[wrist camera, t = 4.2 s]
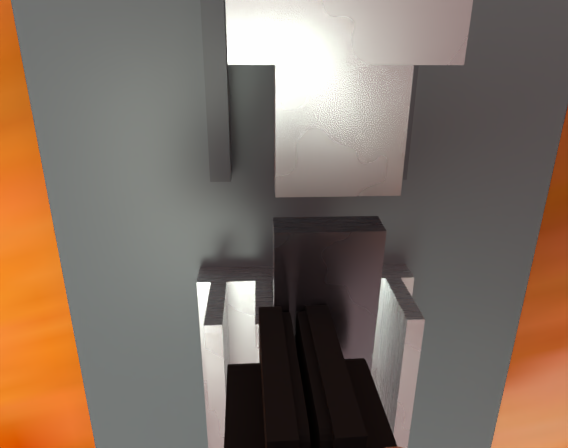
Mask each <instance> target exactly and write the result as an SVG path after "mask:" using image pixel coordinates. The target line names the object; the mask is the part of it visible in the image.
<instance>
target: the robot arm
mask: <svg viewBox="0 0 568 448" xmlns="http://www.w3.org/2000/svg"><path fill="white" fill-rule="evenodd" d="M224 448H403V447H398V446H397V444H396V441H395V438H394V435H393V433H392V430H391V427H390V424H389V422H388V419H387V416H386V413H385V411H384V408H383V405H382V402H381V400H380V397H379V394H378V391H377V389H376V386H375V383H374V380H373V378H372V375H371V372H370V369H369V367H368V364H367V362H366V360H365V359H364V358H354V359H344V356H343V353H342V350H341V346H340V343H339V340H338V336H337V333H336V330H335V326H334V323H333V320H332V316H331V313H330V310H329V307H328V305H305V311H303V312H296V337H295V338H294V332H293V326H292V320H291V314H290V312H282V309H281V306H274V307H259V363H245V364H228V366H227V385H226V409H225V433H224Z"/></svg>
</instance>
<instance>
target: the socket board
mask: <svg viewBox="0 0 568 448" xmlns="http://www.w3.org/2000/svg"><path fill="white" fill-rule="evenodd" d="M11 4H12V9H13V14H14V19H15V25H16V30H17V35H18V40H19V46H20V51H21V56H22V62H23V67H24V72H25V77H26V83H27V88H28V93H29V98H30V104H31V109H32V114H33V120H34V125H35V130H36V135H37V141H38V146H39V151H40V156H41V162H42V167H43V172H44V177H45V183H46V188H47V193H48V199H49V204H50V209H51V214H52V220H53V225H54V230H55V235H56V241H57V246H58V251H59V257H60V262H61V267H62V272H63V278H64V283H65V288H66V293H67V299H68V304H69V309H70V315H71V320H72V325H73V330H74V336H75V341H76V346H77V351H78V357H79V362H80V367H81V373H82V378H83V383H84V388H85V394H86V399H87V404H88V409H89V415H90V420H91V425H92V430H93V436H94V441H95V446H96V448H208V437H207V423H206V409H205V395H204V381H203V367H202V353H201V339H200V325H199V311H198V297H197V283H196V282H197V278H198V273H199V269H200V268H213V267H260V266H273V217H336V216H378V217H379V219H380V220H381V222H382V224H383V226H384V227H385V229H386V231H387V232H386V241H385V251H384V260H383V264H401V263H406V265H407V267H408V268H409V270H410V271H411V273H412V274H413V276H414V285H413V293H412V298H413V300H414V301H415V303H416V305H417V306H418V308H419V310H420V312H421V313H422V315H423V317H424V318H425V324H424V331H423V339H422V346H421V353H420V360H419V368H418V375H417V382H416V389H415V397H414V404H413V411H412V419H411V426H410V433H409V440H408V448H491V444H492V440H493V435H494V431H495V426H496V422H497V417H498V413H499V408H500V404H501V400H502V395H503V391H504V386H505V382H506V377H507V373H508V368H509V364H510V359H511V355H512V351H513V346H514V342H515V337H516V333H517V328H518V324H519V319H520V315H521V310H522V306H523V302H524V297H525V293H526V288H527V284H528V279H529V275H530V270H531V266H532V262H533V257H534V253H535V248H536V244H537V239H538V235H539V230H540V226H541V221H542V217H543V213H544V208H545V204H546V199H547V195H548V190H549V186H550V181H551V177H552V173H553V168H554V164H555V159H556V155H557V150H558V146H559V141H560V137H561V132H562V128H563V124H564V119H565V115H566V110H567V106H568V0H473V5H472V12H471V19H470V26H469V33H468V40H467V48H466V55H465V62H464V65H414V71H413V80H412V90H411V100H410V109H409V119H408V129H407V139H406V148H405V158H404V168H403V177H402V187H401V196H345V197H275V189H274V65H228V62H227V34H226V7H225V0H11Z"/></svg>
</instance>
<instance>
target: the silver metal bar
mask: <svg viewBox="0 0 568 448" xmlns="http://www.w3.org/2000/svg"><path fill="white" fill-rule="evenodd" d="M386 232H387V231H386V229H385V227H384V226H383V224H382V222H381V220H380V219H379V217H378V216H336V217H273V307H274V306H281V309H282V312H290V314H291V320H292V326H293V332H294V338H295V337H296V312H303V311H305V305H328V307H329V310H330V313H331V316H332V320H333V323H334V326H335V330H336V333H337V336H338V340H339V343H340V346H341V350H342V353H343V356H344V359H354V358H364V359H365V360H366V362H367V364H368V367H369V369H370V372H371V368H372V359H373V350H374V341H375V332H376V323H377V314H378V305H379V296H380V287H381V278H382V269H383V260H384V251H385V241H386Z"/></svg>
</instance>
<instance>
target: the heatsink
mask: <svg viewBox="0 0 568 448" xmlns="http://www.w3.org/2000/svg"><path fill="white" fill-rule="evenodd" d="M196 283H197V297H198V311H199V325H200V339H201V353H202V367H203V381H204V395H205V409H206V423H207V437H208V448H224V433H225V409H226V385H227V366H228V364H245V363H259V307H273V266H260V267H213V268H200V269H199V273H198V278H197V282H196ZM413 285H414V276H413V274H412V273H411V271H410V270H409V268H408V267H407V265H406V263H401V264H383V269H382V278H381V287H380V296H379V305H378V314H377V323H376V332H375V341H374V350H373V359H372V368H371V375H372V378H373V380H374V383H375V386H376V389H377V391H378V394H379V397H380V400H381V402H382V405H383V408H384V411H385V413H386V416H387V419H388V422H389V424H390V427H391V430H392V433H393V435H394V438H395V441H396V444H397V446H398V447H403V448H408V440H409V433H410V426H411V419H412V411H413V404H414V397H415V389H416V382H417V375H418V368H419V360H420V353H421V346H422V339H423V331H424V324H425V318H424V317H423V315H422V313H421V312H420V310H419V308H418V306H417V305H416V303H415V301H414V300H413V298H412V293H413Z"/></svg>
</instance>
